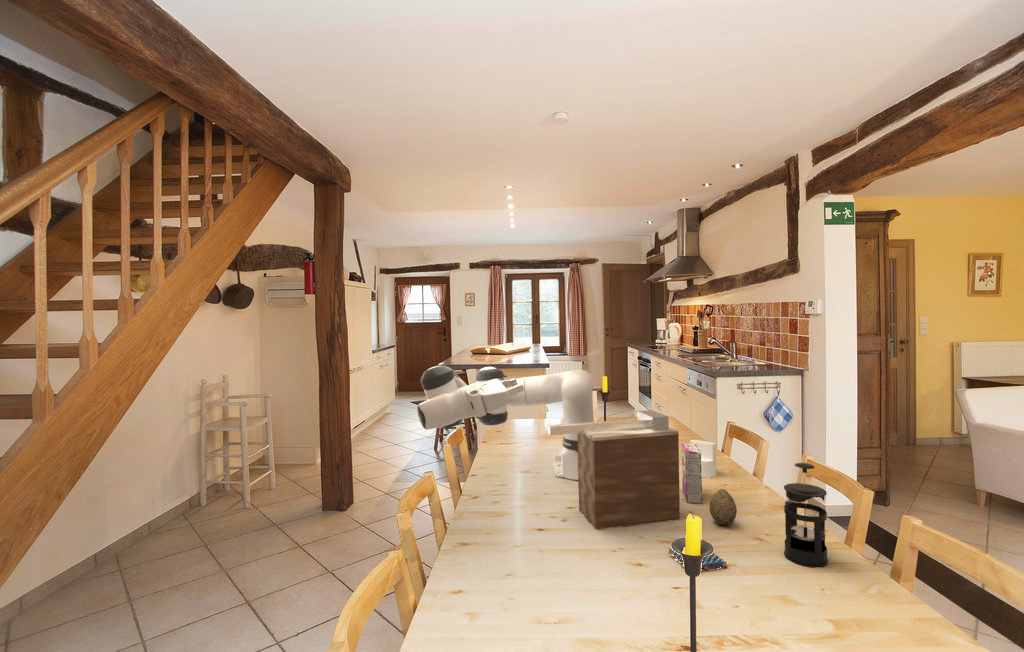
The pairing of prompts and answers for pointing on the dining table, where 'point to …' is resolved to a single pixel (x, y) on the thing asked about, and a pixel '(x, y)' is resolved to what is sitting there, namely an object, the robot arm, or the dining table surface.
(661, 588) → the dining table surface
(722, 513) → the decorative egg
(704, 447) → the base with upright slab
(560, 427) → the bar
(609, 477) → the dark wood block
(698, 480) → the candy bar box
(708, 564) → the woven mat
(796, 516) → the french press
